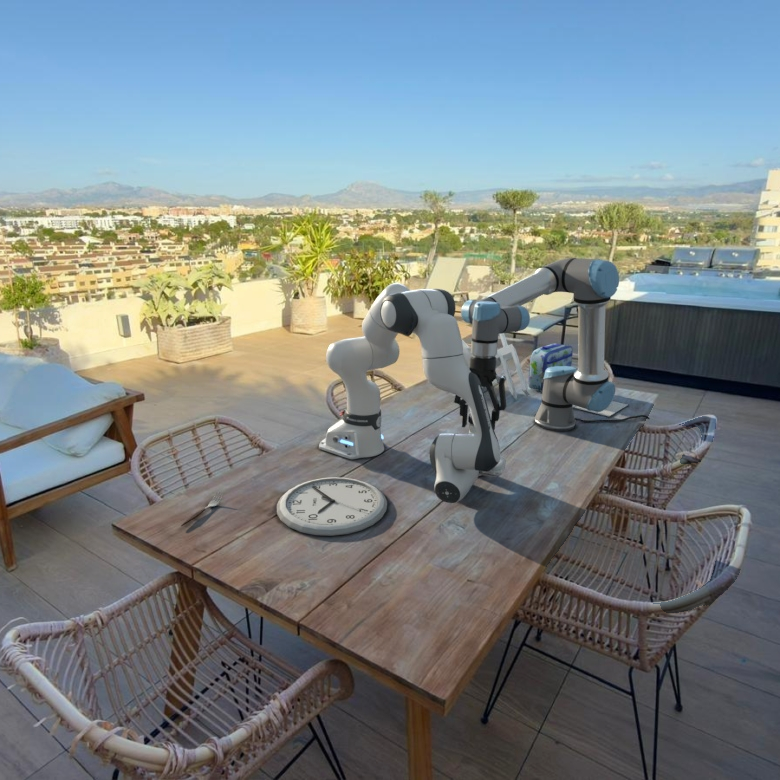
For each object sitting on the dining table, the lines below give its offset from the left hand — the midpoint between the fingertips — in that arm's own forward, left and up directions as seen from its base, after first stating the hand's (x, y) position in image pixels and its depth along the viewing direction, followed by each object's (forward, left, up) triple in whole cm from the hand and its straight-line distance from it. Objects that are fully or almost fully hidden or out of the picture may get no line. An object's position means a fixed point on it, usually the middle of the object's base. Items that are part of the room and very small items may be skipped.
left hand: (477, 451), depth 163 cm
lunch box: (+7, +104, -7) cm, 104 cm away
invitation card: (+32, +85, -7) cm, 91 cm away
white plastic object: (-21, +81, -7) cm, 84 cm away
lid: (0, -1, +12) cm, 12 cm away
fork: (-58, -57, -7) cm, 82 cm away
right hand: (0, -1, +8) cm, 8 cm away
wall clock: (-30, -38, -7) cm, 49 cm away
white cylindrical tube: (0, -1, -7) cm, 7 cm away
